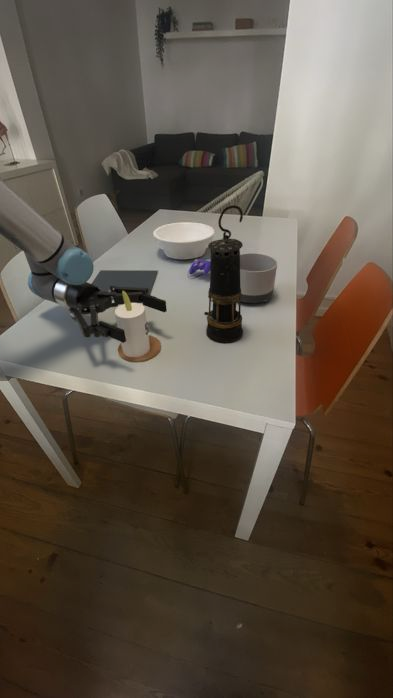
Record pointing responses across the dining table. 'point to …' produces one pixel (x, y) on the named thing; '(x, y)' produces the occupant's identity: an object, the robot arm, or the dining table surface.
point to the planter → (257, 277)
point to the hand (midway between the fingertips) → (146, 320)
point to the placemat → (125, 279)
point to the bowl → (184, 239)
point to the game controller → (200, 266)
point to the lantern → (225, 288)
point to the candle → (133, 328)
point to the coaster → (154, 350)
